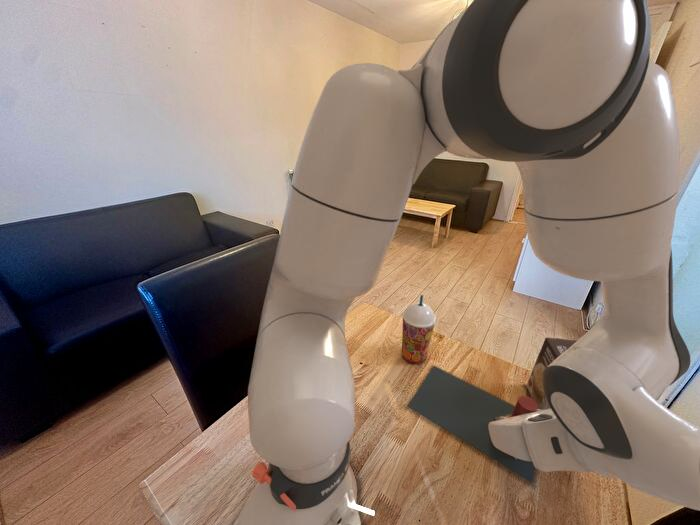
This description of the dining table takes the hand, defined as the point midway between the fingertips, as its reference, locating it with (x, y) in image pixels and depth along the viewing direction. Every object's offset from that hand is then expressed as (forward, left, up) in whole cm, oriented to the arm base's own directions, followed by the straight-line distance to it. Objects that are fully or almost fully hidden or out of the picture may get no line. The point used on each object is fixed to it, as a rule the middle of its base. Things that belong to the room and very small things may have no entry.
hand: (518, 417), depth 56 cm
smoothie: (+9, +26, -7) cm, 28 cm away
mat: (+1, +8, -7) cm, 10 cm away
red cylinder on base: (0, 0, -6) cm, 6 cm away
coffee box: (+14, -5, -7) cm, 16 cm away
